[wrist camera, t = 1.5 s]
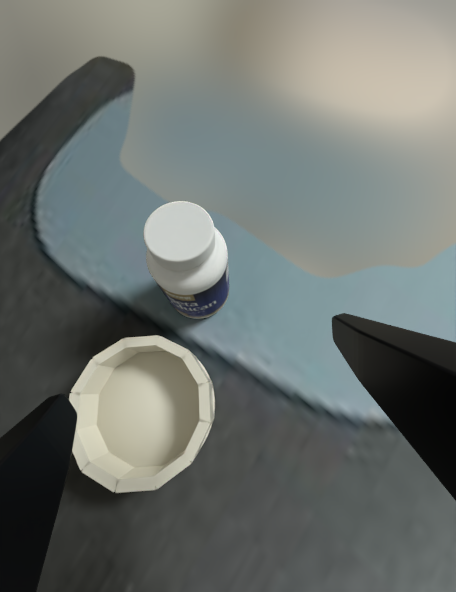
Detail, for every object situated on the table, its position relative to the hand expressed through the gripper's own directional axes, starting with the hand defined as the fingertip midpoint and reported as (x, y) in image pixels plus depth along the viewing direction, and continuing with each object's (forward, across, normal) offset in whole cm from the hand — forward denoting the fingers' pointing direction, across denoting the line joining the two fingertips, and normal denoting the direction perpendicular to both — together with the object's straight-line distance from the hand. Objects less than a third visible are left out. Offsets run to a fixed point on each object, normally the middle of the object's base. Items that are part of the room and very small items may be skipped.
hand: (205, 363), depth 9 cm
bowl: (+9, +6, +10) cm, 15 cm away
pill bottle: (+15, 0, +4) cm, 16 cm away
